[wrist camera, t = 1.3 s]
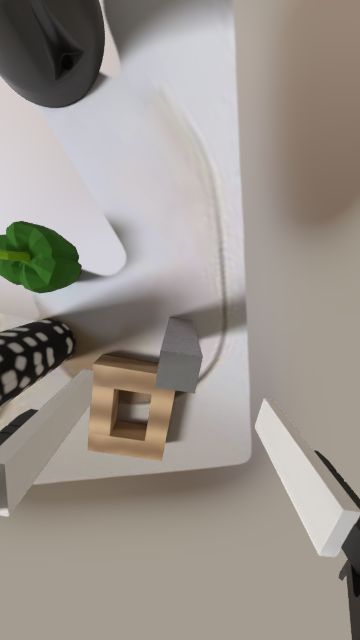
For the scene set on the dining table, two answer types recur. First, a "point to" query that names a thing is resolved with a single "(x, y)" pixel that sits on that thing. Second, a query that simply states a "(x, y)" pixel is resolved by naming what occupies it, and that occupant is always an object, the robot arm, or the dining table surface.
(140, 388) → the wooden rectangular frame
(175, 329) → the bracket
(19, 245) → the bell pepper
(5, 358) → the white-spotted black cylinder
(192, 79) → the dining table surface
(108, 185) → the dining table surface
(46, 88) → the robot arm
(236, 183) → the dining table surface
